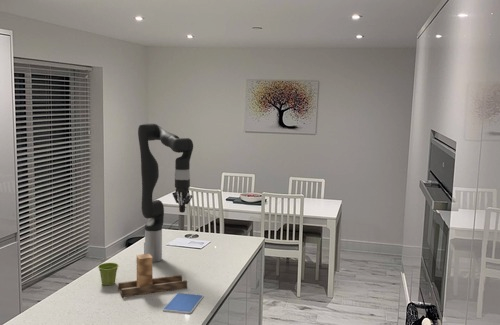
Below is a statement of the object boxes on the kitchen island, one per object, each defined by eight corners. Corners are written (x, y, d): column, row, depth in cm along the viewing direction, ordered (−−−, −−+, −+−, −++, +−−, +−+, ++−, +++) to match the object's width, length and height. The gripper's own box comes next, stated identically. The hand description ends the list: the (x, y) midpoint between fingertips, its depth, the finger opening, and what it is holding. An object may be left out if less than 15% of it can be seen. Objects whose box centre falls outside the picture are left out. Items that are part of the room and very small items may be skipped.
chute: (181, 281, 232) (181, 274, 232) (187, 288, 223) (187, 281, 222) (118, 289, 219) (118, 282, 219) (122, 297, 210) (121, 290, 210)
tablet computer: (177, 294, 217) (177, 292, 216) (204, 297, 214) (204, 294, 214) (161, 312, 198) (161, 309, 198) (190, 315, 195) (190, 312, 195)
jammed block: (149, 284, 223) (149, 253, 222) (152, 289, 218) (152, 257, 216) (136, 286, 221) (136, 255, 219) (139, 291, 215) (139, 258, 214)
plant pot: (122, 281, 230) (122, 264, 229) (110, 288, 221) (110, 270, 220) (106, 278, 233) (106, 261, 232) (94, 285, 224) (93, 267, 223)
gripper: (167, 177, 238) (167, 211, 240) (185, 180, 230) (185, 215, 232) (179, 176, 244) (179, 209, 246) (197, 178, 235) (196, 213, 237)
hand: (182, 212), depth 239 cm, fingers closed
